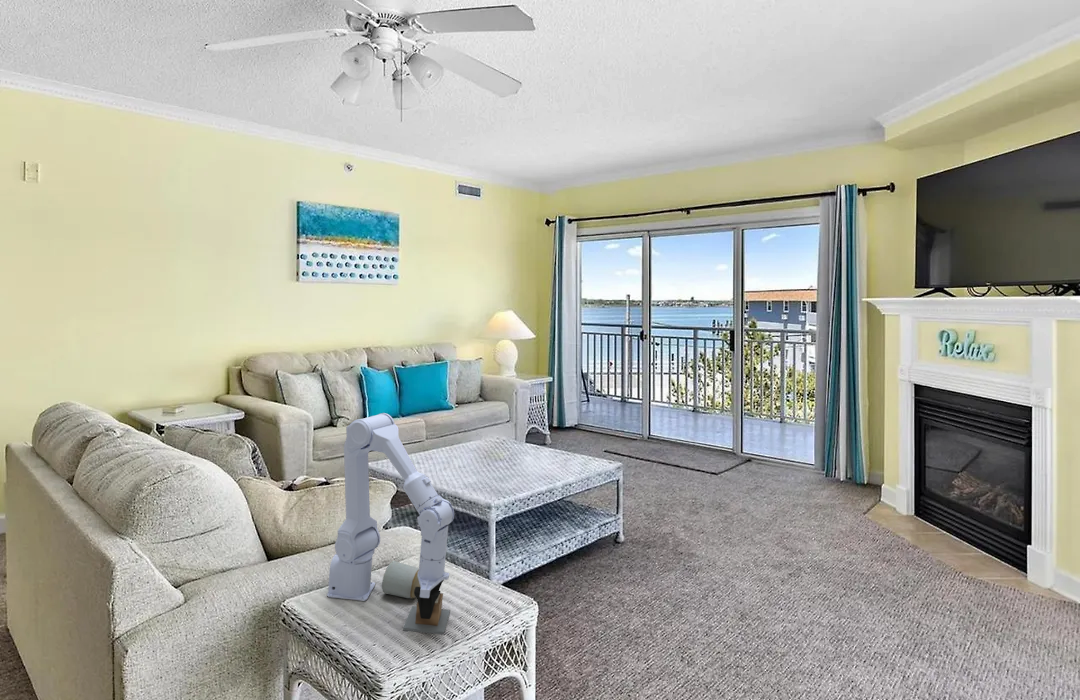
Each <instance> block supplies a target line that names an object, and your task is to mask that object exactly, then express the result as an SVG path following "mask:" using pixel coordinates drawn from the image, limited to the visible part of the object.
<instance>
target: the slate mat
mask: <svg viewBox="0 0 1080 700" xmlns="http://www.w3.org/2000/svg"><path fill="white" fill-rule="evenodd" d="M410 608H411V609H410V610H409V613H408V614H407V618H406V620H405V622H404V625H403V628H402V631H409V632H418V633H424V634H425V633H427V634H436V635H442V636H443V635H444V634H445V631H446V627H447V624H448V621H449V616H450V614H451V609H447V608H446V609H445V608H442V610H441V616H440V619H439V622H438V626H434V625H425V624H416V623H415V621H416V610H417V605H412V606H411V607H410Z"/></svg>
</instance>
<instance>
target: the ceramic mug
mask: <svg viewBox="0 0 1080 700" xmlns="http://www.w3.org/2000/svg"><path fill="white" fill-rule="evenodd" d="M385 568H386V569H385V571H384V574H383V577H382V582H381V591H382V592H383V594H387V595H392V596H395V597H401V598H406V599H416V597H415V595H414V590H415V587H420V584H419V580H418V577H417V575H418V571H419V567H416V566H414V565H410V564H406V563H404V562H399V561H396V560H392V561H390V563H389V564H388V565H387V567H385Z"/></svg>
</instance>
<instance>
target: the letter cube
mask: <svg viewBox="0 0 1080 700" xmlns="http://www.w3.org/2000/svg"><path fill="white" fill-rule="evenodd" d="M443 596H444V593H442V592H440V594H439V596H438V598H437V599H436V601H435V604H434V607H433V611H432V615H431V618H430V619H422V618H421V617H420V611H419V604H418V601H417V602H416V606H417V610H416V621H415V623H416V624H425V625H434V626H438V622H439V619H440V616H441V610H442V609H443V600H444V599H443V598H444V597H443Z"/></svg>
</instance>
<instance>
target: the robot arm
mask: <svg viewBox="0 0 1080 700" xmlns="http://www.w3.org/2000/svg"><path fill="white" fill-rule="evenodd" d="M345 428H346V429H345V431H346V433H345V434H346V438H345V440H344V445H343V456H344V457H343V459H344V460H343V461H344V462H343V463H344V491H345V492H344V493H345V494H344V495H345V520H344V521H343V522H342V524H341V525H340V526H339V527H338V529H337V538H336V540H335V544H334V549H335V554H334V555H333V557H332V559H331V562H330V565H329V571H328V573H329V574H328V586H327V587H328V588H327V589H328V590H327V594H326V597H327V596H328V597H327V598H334V599H342V600H343V599H345V600H352V601H353V600H354V601H362V602H366V601H367V600H368V599H369V597H370V595H371V593H372V592H373V589H374V588H375V586H376V582H371V580H372V568H373V555H375V550H376V549H377V548H378V547H379V545H380V544H381V534H380V531H379V529H378V523H377V520H376V519H375V518H373V517H371V510H370V509H371V506H370V475H369V474H370V473H369V472H370V468H369V452H371V451H373V452H376V453H377V452H378V453H381V454H382V453H383V454H384V455H385V456H386V457H387V459H388V460H389V461H390V463H391V464H392V465H393V468H394V469H395V470H396V471H397V472H398V473H399V475H400V476H401V478H402V479H403V481H404V482H403V486H402V488H403V491H404V492H405V494H406V496H408V499H409V500H410V502H411V504H412V505H413V506H414V508H415V510H416V511H417V513H418V515H419V516H417V524H418V526H419V528H420V536H421V539H420V551H419V562H418V568H419V571H418V575H417V577H418V580H419V584H420V587H415V590H414V595H415V599H416V601H417V602H418V604H419V611H420V617H421V618H422V619H430V618H431V615H432V611H433V607H434V604H435V601H436V599H437V598H438V596H439V594H440V593H441V590H440V589H441V587H442V585H443V583H444V581H445V580H446V581H447V580H449V577H450V573H449V572H446V571H445V568H446V556H447V545H448V533H449V524H451V523H452V522H453V520H454V519H455V510H454V507H453V506H452V503H451V502H450V501H449V500H447V499H444V498H443V497H442V496H441V495H439V494H438V492H437V490H436V489H435V487H434V486H433V484H432V483H431V482H432V481H431V479H430V477H427V475H426V474H425V473H423V472H419V471H418V470H417V469H416V466H415V465H414V463H413V461H412V459H411V457H410V455H409V454H408V452H407V450H406V448H405V446H404V445H403V442H402V440H401V439H400V437H399V435H400V432H399V431H400V430H399V427H398V425H397V424H396V423H395V420H394V418H393V417H392V416H391V415H390V414H388V413H385V412H382V413H381V412H380V413H378V414H376V415H371V416H368V417H365V418H364V417H363V418H358V419H355V420H353V421H352V422H351V423H350V424H348V425H347V426H346V427H345Z"/></svg>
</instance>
